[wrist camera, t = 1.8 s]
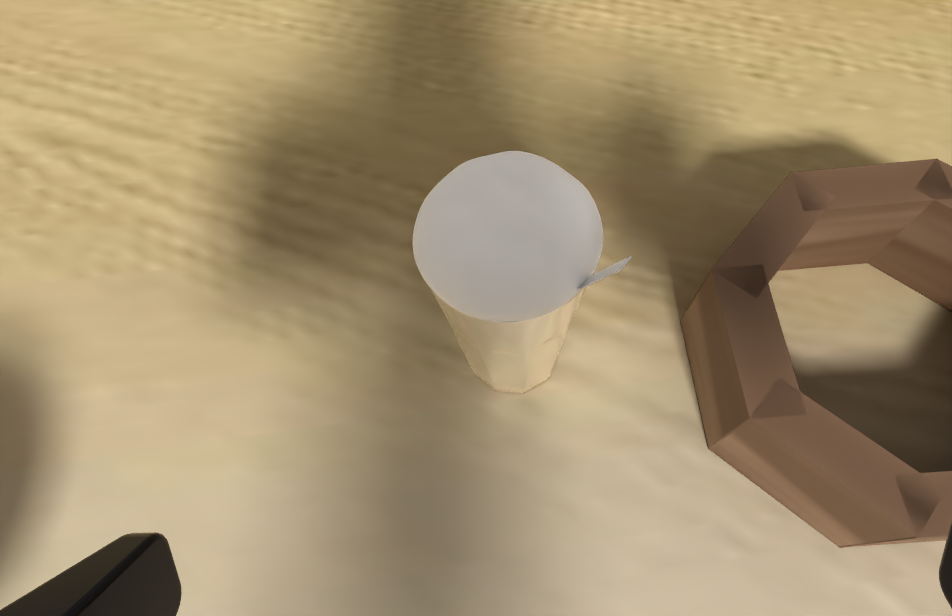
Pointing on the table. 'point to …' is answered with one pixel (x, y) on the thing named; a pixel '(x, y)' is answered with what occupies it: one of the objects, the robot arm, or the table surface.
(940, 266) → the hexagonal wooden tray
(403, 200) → the table surface
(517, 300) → the milkshake
